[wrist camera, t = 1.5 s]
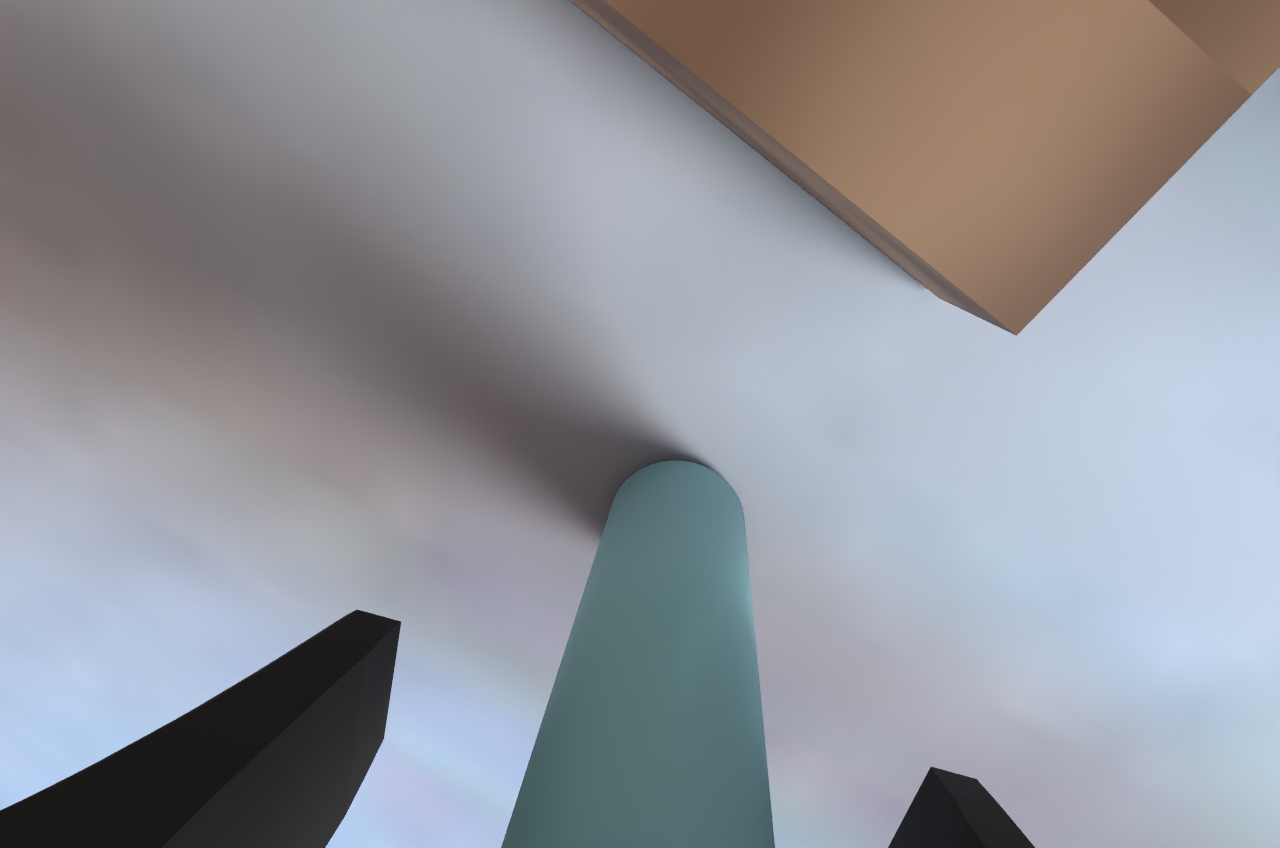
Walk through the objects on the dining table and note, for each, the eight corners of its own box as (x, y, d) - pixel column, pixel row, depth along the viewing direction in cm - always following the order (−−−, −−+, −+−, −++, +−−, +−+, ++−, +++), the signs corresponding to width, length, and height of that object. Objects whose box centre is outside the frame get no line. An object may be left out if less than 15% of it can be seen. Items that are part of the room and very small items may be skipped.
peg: (772, 513, 15) (852, 951, 6) (688, 603, 16) (660, 1087, 7) (662, 433, 14) (589, 784, 6) (584, 530, 15) (426, 949, 7)
